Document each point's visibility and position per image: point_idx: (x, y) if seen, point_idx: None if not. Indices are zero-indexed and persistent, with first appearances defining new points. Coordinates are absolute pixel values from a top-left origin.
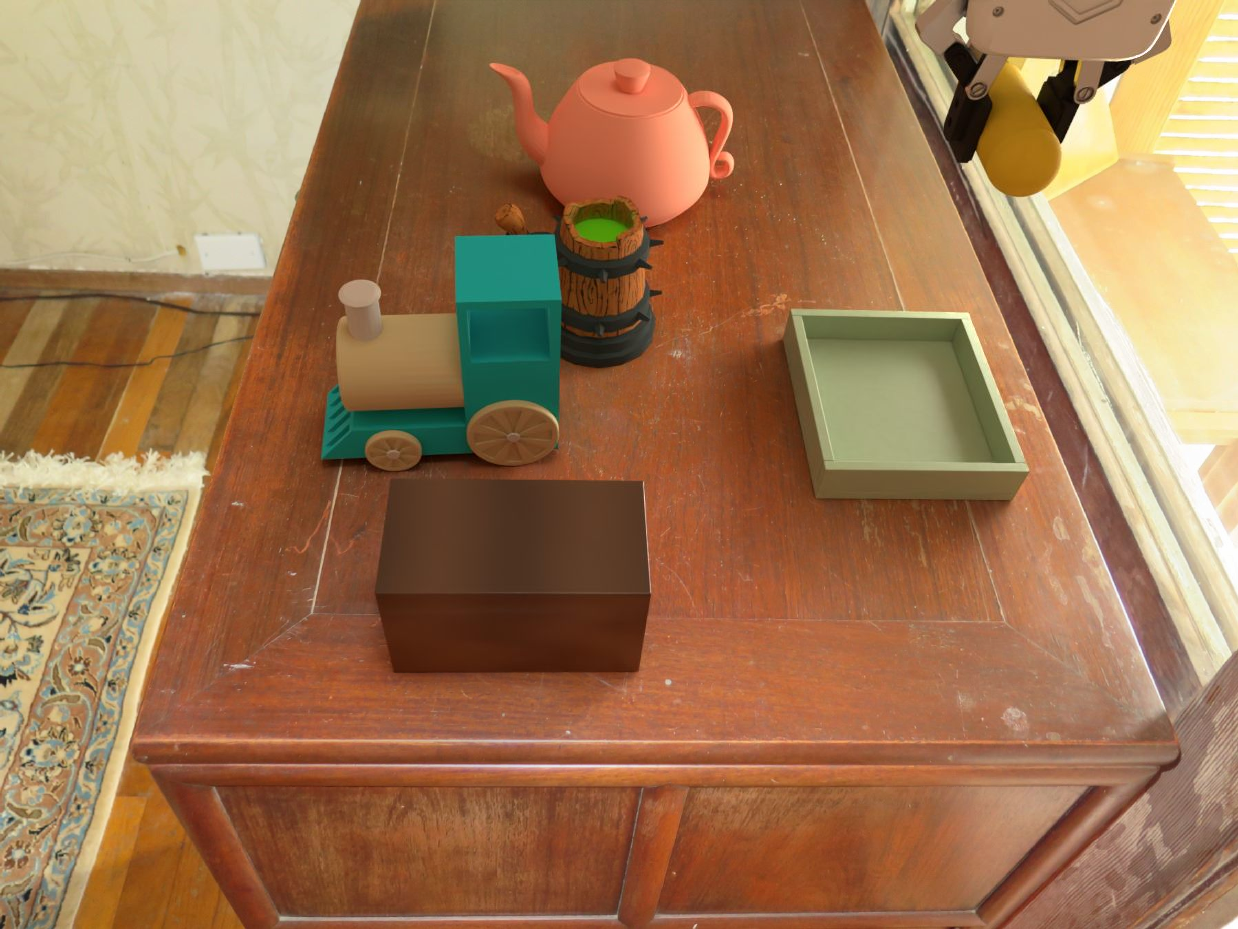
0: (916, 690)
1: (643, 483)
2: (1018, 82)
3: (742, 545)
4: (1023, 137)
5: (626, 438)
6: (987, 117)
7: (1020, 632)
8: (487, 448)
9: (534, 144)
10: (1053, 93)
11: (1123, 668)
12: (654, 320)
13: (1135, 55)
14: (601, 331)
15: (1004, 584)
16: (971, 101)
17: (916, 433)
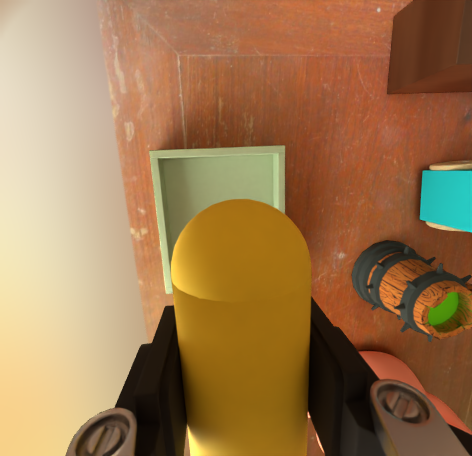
0: (240, 2)
1: (456, 61)
2: None
3: (324, 110)
4: (282, 272)
5: (378, 187)
6: (322, 350)
7: (169, 47)
8: (469, 160)
9: (436, 400)
10: (173, 440)
11: (108, 19)
12: (356, 276)
13: None
14: (406, 249)
15: (173, 84)
16: (367, 384)
17: (210, 198)
